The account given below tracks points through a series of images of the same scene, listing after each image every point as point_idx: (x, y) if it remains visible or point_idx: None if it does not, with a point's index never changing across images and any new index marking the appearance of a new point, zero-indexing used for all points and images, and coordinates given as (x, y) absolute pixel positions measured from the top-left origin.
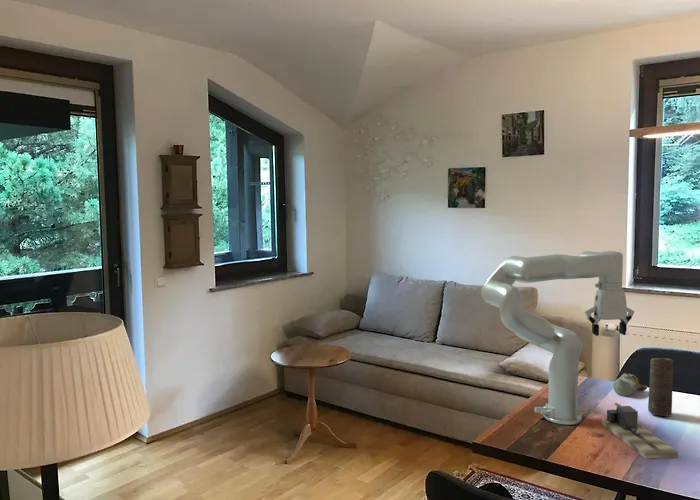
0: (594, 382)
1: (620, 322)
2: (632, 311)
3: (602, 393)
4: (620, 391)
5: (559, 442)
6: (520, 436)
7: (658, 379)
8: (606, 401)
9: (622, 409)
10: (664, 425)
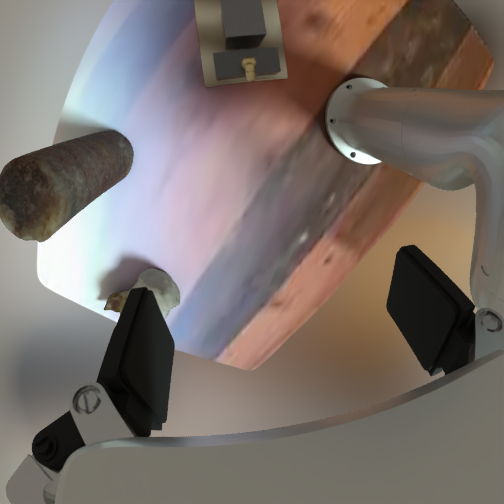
0: (205, 342)
1: (156, 423)
2: (19, 499)
3: (206, 285)
4: (168, 277)
5: (402, 12)
6: (453, 56)
7: (74, 147)
8: (213, 234)
9: (262, 11)
10: (126, 83)
